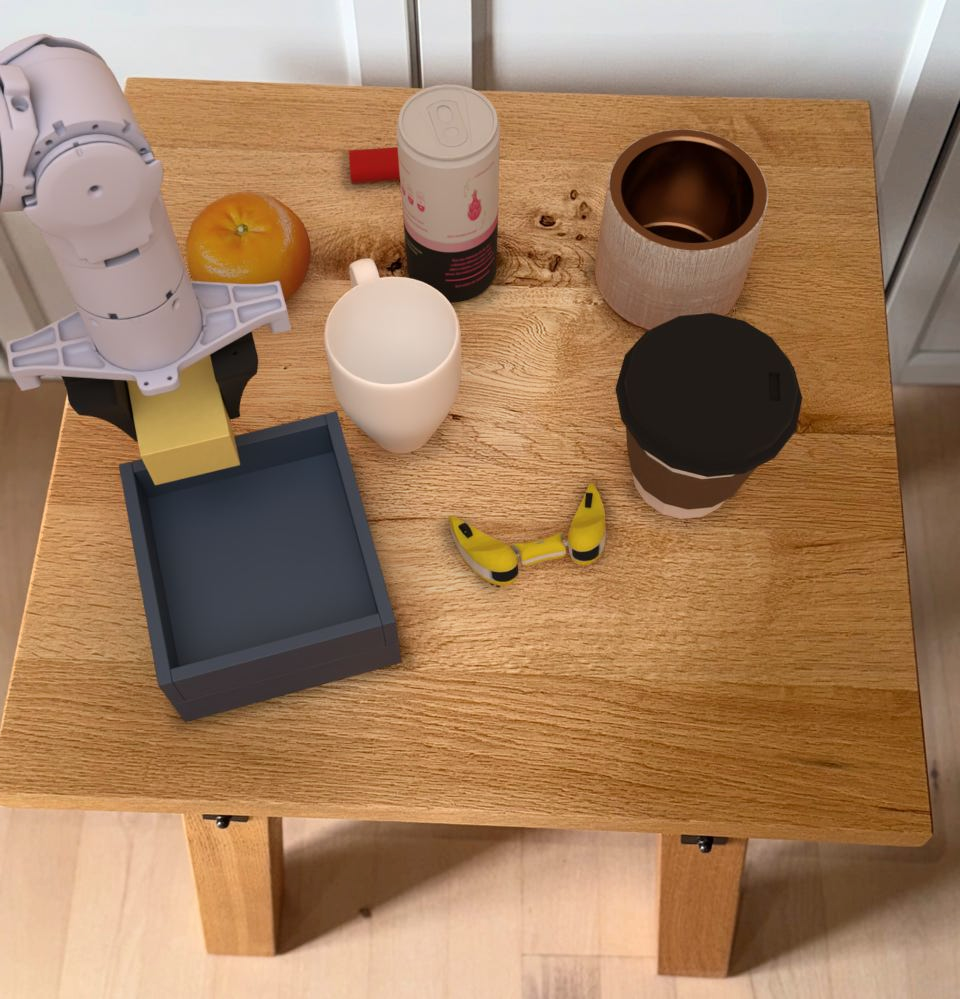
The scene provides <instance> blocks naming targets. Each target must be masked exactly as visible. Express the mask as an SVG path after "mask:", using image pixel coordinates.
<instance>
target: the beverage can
mask: <svg viewBox="0 0 960 999" xmlns="http://www.w3.org/2000/svg"><path fill="white" fill-rule="evenodd" d="M395 130H396V134H395V135H396V146H397V147H398V160H399V172H400V180H399V182H400V183H399V184H400V195H401V196H400V197H401V208H402V221H403V232H404V246H405V256H406V258H405V260H406V268H407V269H406V270H407V275H408V276H407V277H408V278H411V279H415V280H418V281H421V282H424V283H426V284H428V285H430V286H432V287H433V288H435V289H436V290H438V291H439V292H440V293H441V294H443V295H444V296H445V297H446V299H447V300H448V301H449V302H450V304H457V303H465V302H468V301H471V300H473V299H475V298H477V297H479V296H481V295H482V294H483V293H484V292H486V291H487V290H488V289H489V288H490V286H491V285H492V283H494V282H493V281H494V280H495V278H496V275H497V269H498V233H499V232H498V230H499V195H500V194H499V192H500V185H499V184H500V156H501V155H500V154H501V152H500V151H501V124H500V121H499V118H498V113H497V111H496V109H495V107H494V105H493V103H492V102H491V101H490V100H489V98H487V97H486V96H485V95H484V94H482V93H481V92H480V91H478V90H476V89H473V88H471V87H469V86H464V85H461V84H455V83H454V84H453V83H446V84H445V83H443V84H436V85H432V86H428V87H426V88H423V89H421V90H418V91H417V92H416V93H414V94H413V95H411V96H410V97H409V98H408V99H407V100H406V101H405V103H404V104H403V105H402V106H401V109H400V111H399V114H398V119H397V122H396V129H395Z"/></svg>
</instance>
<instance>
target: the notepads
mask: <svg viewBox="0 0 960 999" xmlns="http://www.w3.org/2000/svg"><path fill="white" fill-rule="evenodd" d="M180 380H181V382H180V386H179V387H178V388H177V389H176V390H174V391H171V392H166V393H162V394H158V395H153V396H145V395H143V394H142V393H141V391H140V389H139V387H138V384H137V382H136V381H128V380H126V381H127V384H128V390H129V395H130V401H131V406H132V412H133V418H134V423H135V429H136V434H137V440H138V442H137V445H138V452H139V455H140V459H142V460H143V462H144V464H145V466H146V468H147V470H148V472H149V474H150V476H151V478H152V480H153V482H154V484H155V485H159V484H163V483H167V482H171V481H176V480H180V479H184V478H188V477H192V476H196V475H200V474H205V473H209V472H213V471H217V470H221V469H225V468H230V467H234V466H238V465H240V460H239V456H238V451H237V447H236V442H235V438H234V436H235V434H234V430H233V426H232V419H231V420H230V418H229V416H228V414H227V411H226V407H225V403H224V398H223V394H222V392H221V389H220V387H219V385H218V384H217V382H216V380H215V376H214V371H213V367H212V362H211V357H210V355H208V356H207V357H205V358H203V359H201V360H199V361H198V362H196V363H194V364H192V365H191V366H189V367H187V368H185V369H183V370H182V371H181V372H180Z"/></svg>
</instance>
